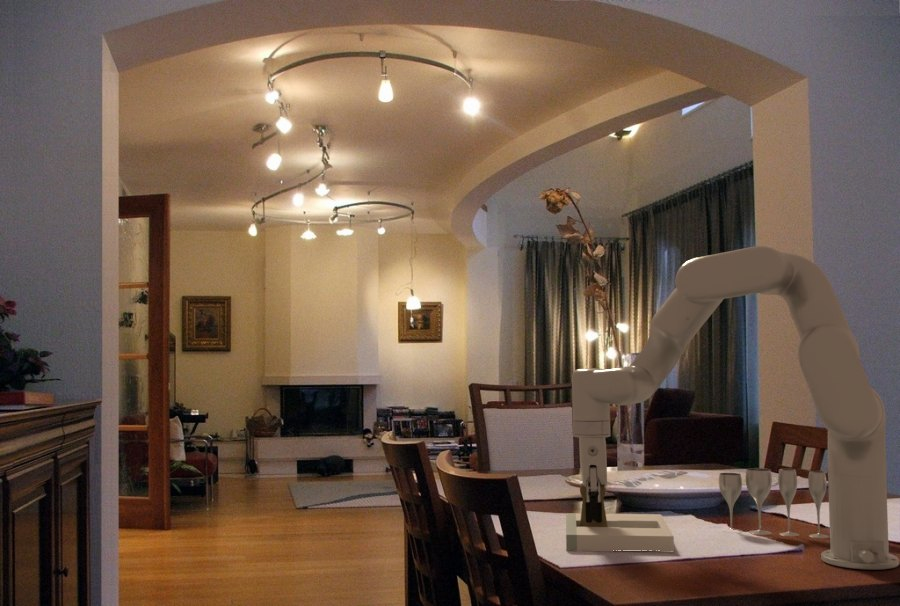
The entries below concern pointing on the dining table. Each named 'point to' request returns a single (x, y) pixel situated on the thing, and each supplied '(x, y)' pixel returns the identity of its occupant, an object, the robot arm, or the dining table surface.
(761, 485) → the goblet set
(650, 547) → the beige flat rimmed tray
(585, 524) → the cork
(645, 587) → the dining table surface
